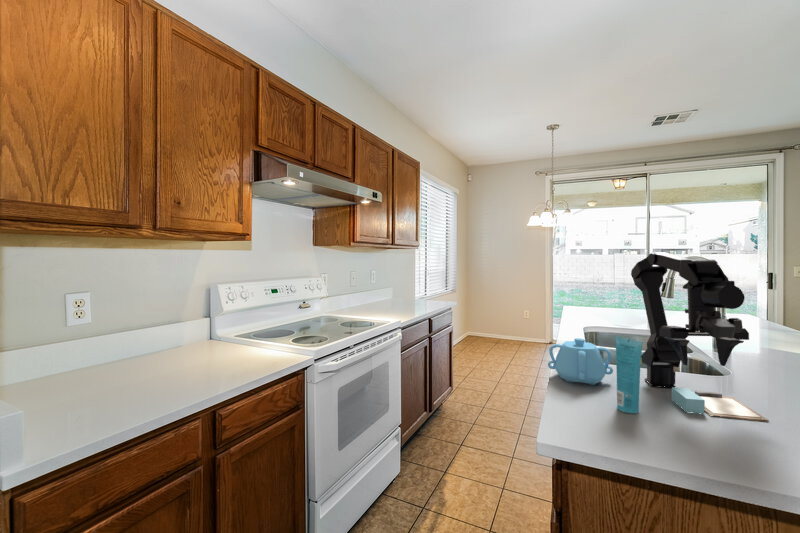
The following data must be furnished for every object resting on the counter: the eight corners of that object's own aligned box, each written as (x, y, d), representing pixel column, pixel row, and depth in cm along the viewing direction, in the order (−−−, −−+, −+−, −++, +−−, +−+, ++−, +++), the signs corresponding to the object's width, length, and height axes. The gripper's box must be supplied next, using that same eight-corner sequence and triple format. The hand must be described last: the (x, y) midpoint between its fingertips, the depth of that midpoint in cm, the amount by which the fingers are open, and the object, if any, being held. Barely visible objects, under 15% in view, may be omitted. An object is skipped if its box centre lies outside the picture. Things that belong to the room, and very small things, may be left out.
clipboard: (710, 416, 93) (710, 410, 93) (682, 394, 107) (682, 389, 107) (768, 421, 90) (769, 416, 90) (732, 398, 104) (732, 393, 104)
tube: (647, 413, 95) (648, 340, 94) (637, 417, 93) (638, 342, 92) (618, 403, 101) (619, 334, 101) (608, 407, 99) (608, 337, 98)
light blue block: (704, 415, 94) (704, 400, 94) (686, 413, 95) (686, 398, 95) (685, 400, 104) (685, 386, 103) (669, 399, 105) (669, 385, 104)
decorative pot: (619, 385, 116) (620, 342, 115) (578, 390, 111) (578, 346, 111) (580, 369, 131) (580, 332, 131) (542, 374, 127) (543, 335, 126)
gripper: (684, 308, 90) (686, 371, 89) (767, 308, 88) (770, 373, 87) (657, 305, 101) (659, 362, 100) (730, 305, 99) (732, 363, 99)
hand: (703, 365), depth 96 cm, fingers open, 9 cm apart
